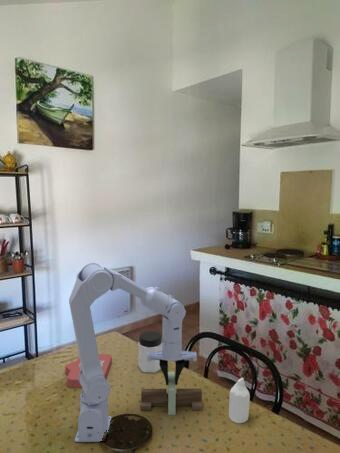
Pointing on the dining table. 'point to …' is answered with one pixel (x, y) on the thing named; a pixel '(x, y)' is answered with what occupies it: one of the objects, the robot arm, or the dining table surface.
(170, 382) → the slotted plate
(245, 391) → the bottle
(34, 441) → the dining table surface
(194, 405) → the walnut stand
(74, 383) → the plaque
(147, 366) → the jar
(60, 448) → the dining table surface
